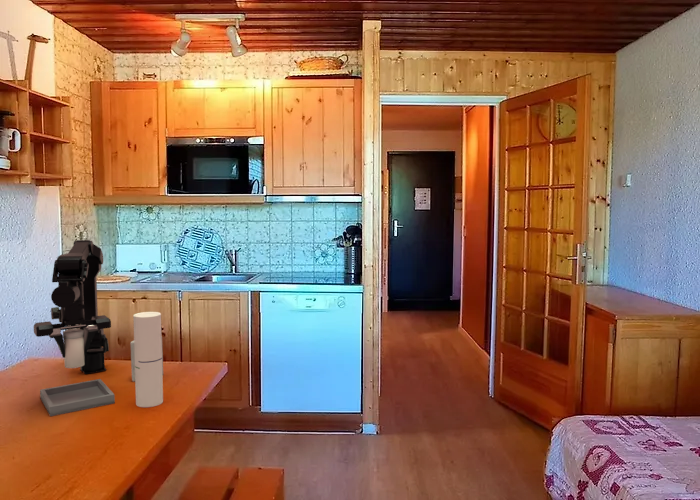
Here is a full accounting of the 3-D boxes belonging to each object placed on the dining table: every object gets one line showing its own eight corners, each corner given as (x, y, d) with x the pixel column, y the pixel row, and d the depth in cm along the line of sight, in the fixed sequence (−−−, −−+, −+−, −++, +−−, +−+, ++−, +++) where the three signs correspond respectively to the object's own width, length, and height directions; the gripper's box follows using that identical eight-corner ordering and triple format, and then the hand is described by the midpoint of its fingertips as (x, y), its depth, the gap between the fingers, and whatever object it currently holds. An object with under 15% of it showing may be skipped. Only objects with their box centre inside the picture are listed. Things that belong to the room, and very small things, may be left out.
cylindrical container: (154, 408, 152) (152, 317, 149) (130, 406, 153) (127, 316, 151) (167, 398, 159) (165, 312, 156) (145, 396, 160) (142, 311, 158)
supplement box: (164, 374, 180) (163, 336, 178) (153, 382, 172) (152, 342, 171) (142, 374, 180) (141, 335, 179) (130, 381, 173) (129, 341, 172)
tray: (100, 386, 168) (100, 378, 168) (114, 403, 155) (114, 394, 155) (40, 398, 158) (39, 389, 158) (50, 416, 146) (49, 407, 145)
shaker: (82, 361, 160) (81, 328, 159) (86, 366, 156) (85, 331, 155) (62, 364, 157) (61, 330, 156) (66, 369, 153) (64, 334, 152)
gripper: (101, 293, 167) (102, 344, 168) (29, 299, 156) (32, 354, 157) (110, 298, 158) (112, 352, 159) (35, 306, 147) (38, 364, 148)
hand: (74, 355), depth 156 cm, fingers closed on shaker, 5 cm apart
